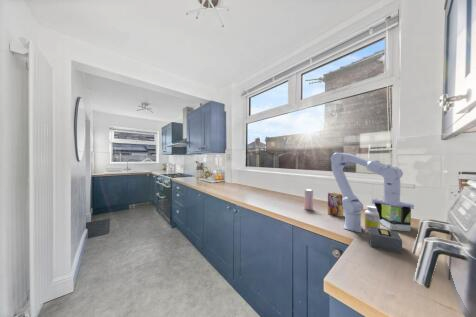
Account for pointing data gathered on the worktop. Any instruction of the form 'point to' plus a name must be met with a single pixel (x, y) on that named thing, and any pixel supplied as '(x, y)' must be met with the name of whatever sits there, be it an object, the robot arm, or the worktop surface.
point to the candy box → (335, 204)
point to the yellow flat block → (384, 233)
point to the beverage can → (308, 199)
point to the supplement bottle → (371, 217)
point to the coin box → (385, 240)
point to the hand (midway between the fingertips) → (391, 220)
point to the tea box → (394, 218)
